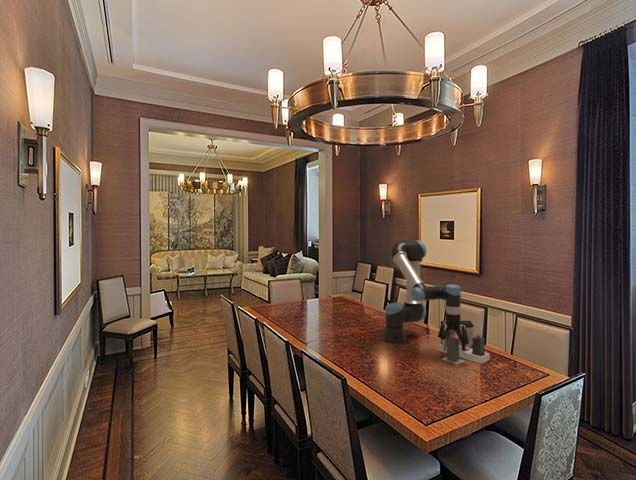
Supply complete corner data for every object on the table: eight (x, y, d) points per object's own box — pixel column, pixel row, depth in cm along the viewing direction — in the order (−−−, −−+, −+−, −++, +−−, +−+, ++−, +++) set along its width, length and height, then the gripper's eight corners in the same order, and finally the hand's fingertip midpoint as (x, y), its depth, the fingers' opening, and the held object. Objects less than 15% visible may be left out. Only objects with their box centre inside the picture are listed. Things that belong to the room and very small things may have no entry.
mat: (441, 359, 195) (441, 359, 195) (448, 356, 199) (448, 355, 199) (458, 365, 187) (458, 364, 187) (464, 361, 192) (464, 361, 192)
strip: (438, 351, 207) (438, 326, 206) (446, 348, 213) (446, 323, 212) (481, 365, 187) (481, 337, 186) (489, 360, 193) (489, 333, 192)
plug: (447, 359, 194) (447, 334, 193) (451, 357, 196) (451, 332, 196) (454, 362, 190) (454, 336, 189) (458, 360, 193) (459, 334, 192)
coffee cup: (464, 348, 212) (464, 324, 211) (454, 343, 220) (454, 320, 220) (476, 347, 214) (477, 322, 214) (466, 342, 223) (467, 319, 222)
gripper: (431, 310, 198) (431, 349, 199) (469, 318, 181) (469, 361, 182) (438, 308, 203) (438, 346, 204) (476, 316, 186) (476, 357, 187)
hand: (452, 353), depth 193 cm, fingers open, 10 cm apart
